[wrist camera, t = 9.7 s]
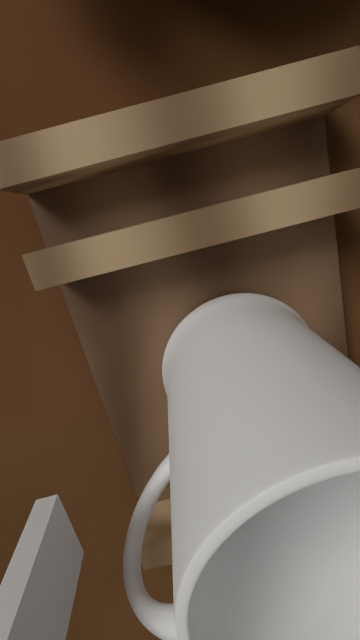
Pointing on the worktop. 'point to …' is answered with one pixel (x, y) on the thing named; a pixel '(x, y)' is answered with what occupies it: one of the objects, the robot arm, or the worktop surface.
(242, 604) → the mug
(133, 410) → the rack
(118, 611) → the worktop surface
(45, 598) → the robot arm
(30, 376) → the worktop surface
